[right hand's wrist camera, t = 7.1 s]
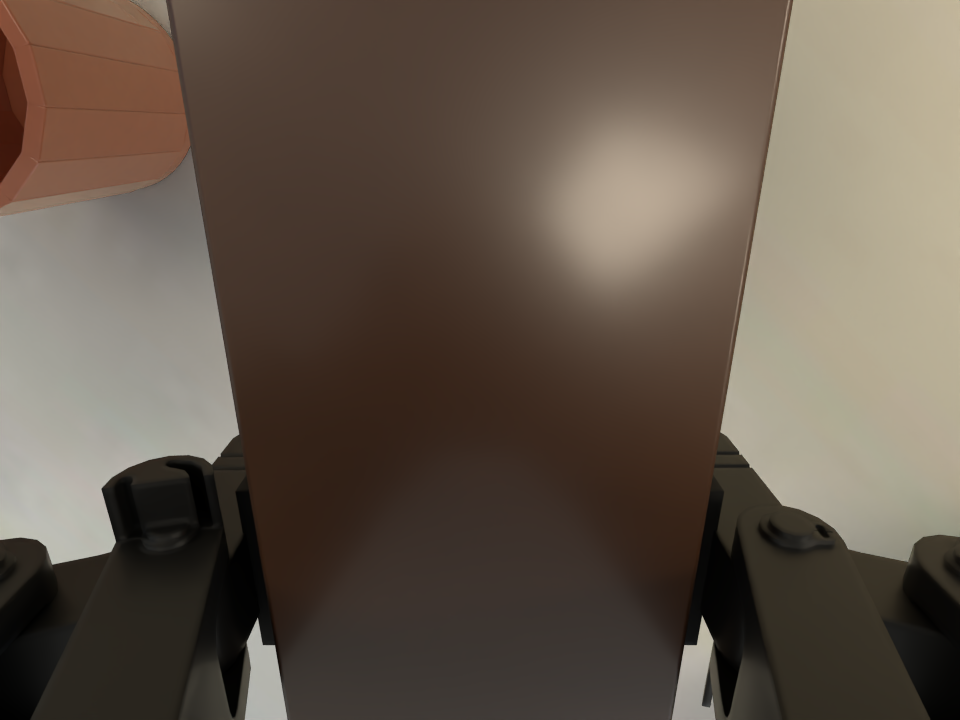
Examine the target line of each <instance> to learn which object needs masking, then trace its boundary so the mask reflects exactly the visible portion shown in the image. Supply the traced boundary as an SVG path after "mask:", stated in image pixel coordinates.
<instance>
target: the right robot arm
mask: <svg viewBox="0 0 960 720" xmlns="http://www.w3.org/2000/svg"><path fill="white" fill-rule="evenodd" d="M102 493H103V496H104V500H105V503H106V507H107V511H108V514H109V518H110V521H111V525H112V529H113V532H114V536H115V539H116V543H115V545H114V548H113V550H112V552H110V553H106V554H102V555H98V556H93V557H88V558H83V559H78V560H74V561H69V562H64V563H59V564H54V565H52V563H51V560H50V557H49V554H48V551H47V548H46V546H44V545H43V544H42V543H40V542H39V541H38V540H34V539H27V538H13V539H5V540H0V720H245V712H246V703H247V695H248V687H249V679H250V670H251V666H250V659H249V653H248V647H247V640H248V638H249V636H250V633H251V631H252V629H253V627H254V624H255V622H256V620H257V618H258V621H259V626H260V632H261V637H262V643H263V645H275V641H274V636H273V630H272V624H271V618H270V612H269V606H268V600H267V594H266V588H265V582H264V576H263V570H262V565H261V559H260V553H259V547H258V541H257V535H256V529H255V523H254V517H253V511H252V505H251V500H250V494H249V488H248V482H247V476H246V470H245V464H244V458H243V452H242V446H241V440H240V434H239V435H238V436H236V437H235V438H233V439H232V440H231V442H230V443H229V444H228V445H227V447H226V448H225V449H224V451H223V452H222V453H221V457H218V458H217V459H216V461H215V462H214V463H213V464H212V465H211V464H210V463H209V462H207V461H206V460H205V459H203V458H199V457H194V456H190V455H183V456H167V457H162V458H157V459H152V460H148V461H145V462H143V463H140V464H137V465H135V466H132V467H129V468H127V469H126V470H124V471H122V472H121V473H119V474H117V475H116V476H114V477H112V478H111V479H110V480H109V481H108V482H107V483H106V485H105V486H104V487H103V488H102ZM702 616H703V618H704V620H705V622H706V625H707V627H708V629H709V631H710V633H711V636H712V638H713V640H714V642H713V647H712V653H711V658H710V663H709V668H708V673H707V678H706V684H705V689H704V694H703V701H702V706H706V707H710V705H711V700H712V695H713V702H714V710H715V718H716V720H960V537H954V536H945V535H935V536H928V537H923V538H922V539H920V540H919V541H918V542H916V543H915V544H914V546H913V549H912V552H911V555H910V558H909V561H908V562H905V561H900V560H895V559H890V558H885V557H880V556H875V555H870V554H865V553H860V552H856V551H852V550H849V549H847V546H846V544H845V542H844V541H843V539H842V538H841V537H840V536H839V534H838V533H837V532H836V531H835V529H834V528H832V527H831V526H829V525H828V524H826V523H825V522H824V521H822V520H821V519H819V518H818V517H815V516H813V515H811V514H808V513H806V512H804V511H801V510H799V509H795V508H791V507H786V506H782V505H781V503H780V502H779V501H778V500H777V498H776V497H775V496H774V495H773V493H772V492H771V491H770V490H769V488H768V487H767V486H766V485H765V483H764V482H763V481H762V480H761V478H760V477H759V476H758V475H757V474H756V472H755V471H754V470H753V469H752V468H750V467H749V464H748V462H747V461H746V460H745V459H744V457H743V456H742V455H739V451H738V450H737V449H736V447H735V446H734V445H733V444H732V442H731V441H730V440H729V439H728V437H727V436H725V435H724V434H722V433H720V436H719V442H718V448H717V454H716V460H715V466H714V472H713V478H712V483H711V489H710V495H709V501H708V507H707V513H706V519H705V525H704V531H703V537H702V543H701V549H700V554H699V560H698V566H697V572H696V578H695V584H694V590H693V596H692V602H691V608H690V614H689V620H688V625H687V631H686V637H685V643H684V645H697V640H698V635H699V629H700V624H701V618H702Z"/></svg>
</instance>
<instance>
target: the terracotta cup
mask: <svg viewBox="0 0 960 720" xmlns="http://www.w3.org/2000/svg"><path fill="white" fill-rule="evenodd" d="M189 148H190V139H189V133H188V127H187V121H186V115H185V109H184V103H183V97H182V91H181V86H180V80H179V74H178V68H177V62H176V56H175V50H174V44H173V40H172V39H171V38H170V36H169V35H168V34H167V32H166V31H165V30H164V29H163V28H162V27H161V26H160V25H159V23H158V22H157V21H156V20H155V19H154V18H152V17H151V16H150V15H149V14H148V13H147V12H145V11H144V10H143V9H141V8H140V7H138V6H137V5H136V4H134V3H133V2H131V1H129V0H0V216H6V215H11V214H16V213H22V212H27V211H33V210H38V209H43V208H49V207H54V206H59V205H65V204H70V203H76V202H81V201H86V200H92V199H97V198H102V197H108V196H113V195H119V194H124V193H129V192H133V191H135V190H137V189H141V188H145V187H148V186H151V185H153V184H156V183H158V182H159V181H161V180H163V179H165V178H166V177H167V176H168V175H170V174H171V173H172V172H173V171H174V170H175V169H176V168H177V167H178V166H179V165H180V163H181V162H182V160H183V159H184V157H185V156H186V154H187V152H188V150H189Z"/></svg>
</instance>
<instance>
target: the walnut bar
mask: <svg viewBox="0 0 960 720" xmlns="http://www.w3.org/2000/svg"><path fill="white" fill-rule="evenodd" d="M166 3H167V9H168V15H169V20H170V26H171V32H172V38H173V44H174V50H175V56H176V62H177V68H178V74H179V80H180V86H181V91H182V97H183V103H184V109H185V115H186V121H187V127H188V133H189V139H190V145H191V151H192V157H193V162H194V168H195V174H196V180H197V186H198V192H199V198H200V204H201V210H202V216H203V222H204V227H205V233H206V239H207V245H208V251H209V257H210V263H211V269H212V275H213V281H214V287H215V293H216V298H217V304H218V310H219V316H220V322H221V328H222V334H223V340H224V346H225V352H226V358H227V364H228V369H229V375H230V381H231V387H232V393H233V399H234V405H235V411H236V417H237V423H238V429H239V434H240V440H241V446H242V452H243V458H244V464H245V470H246V476H247V482H248V488H249V494H250V500H251V505H252V511H253V517H254V523H255V529H256V535H257V541H258V547H259V553H260V559H261V565H262V570H263V576H264V582H265V588H266V594H267V600H268V606H269V612H270V618H271V624H272V630H273V636H274V641H275V647H276V653H277V659H278V665H279V671H280V677H281V683H282V689H283V695H284V701H285V707H286V712H287V718H288V720H672V714H673V708H674V702H675V696H676V691H677V685H678V679H679V673H680V667H681V661H682V655H683V649H684V643H685V637H686V631H687V625H688V620H689V614H690V608H691V602H692V596H693V590H694V584H695V578H696V572H697V566H698V560H699V554H700V549H701V543H702V537H703V531H704V525H705V519H706V513H707V507H708V501H709V495H710V489H711V483H712V478H713V472H714V466H715V460H716V454H717V448H718V442H719V436H720V430H721V424H722V418H723V412H724V406H725V401H726V395H727V389H728V383H729V377H730V371H731V365H732V359H733V353H734V347H735V341H736V335H737V330H738V324H739V318H740V312H741V306H742V300H743V294H744V288H745V282H746V276H747V270H748V264H749V259H750V253H751V247H752V241H753V235H754V229H755V223H756V217H757V211H758V205H759V199H760V193H761V188H762V182H763V176H764V170H765V164H766V158H767V152H768V146H769V140H770V134H771V128H772V122H773V117H774V111H775V105H776V99H777V93H778V87H779V81H780V75H781V69H782V63H783V57H784V51H785V45H786V40H787V34H788V28H789V22H790V16H791V10H792V4H793V0H166Z"/></svg>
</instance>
